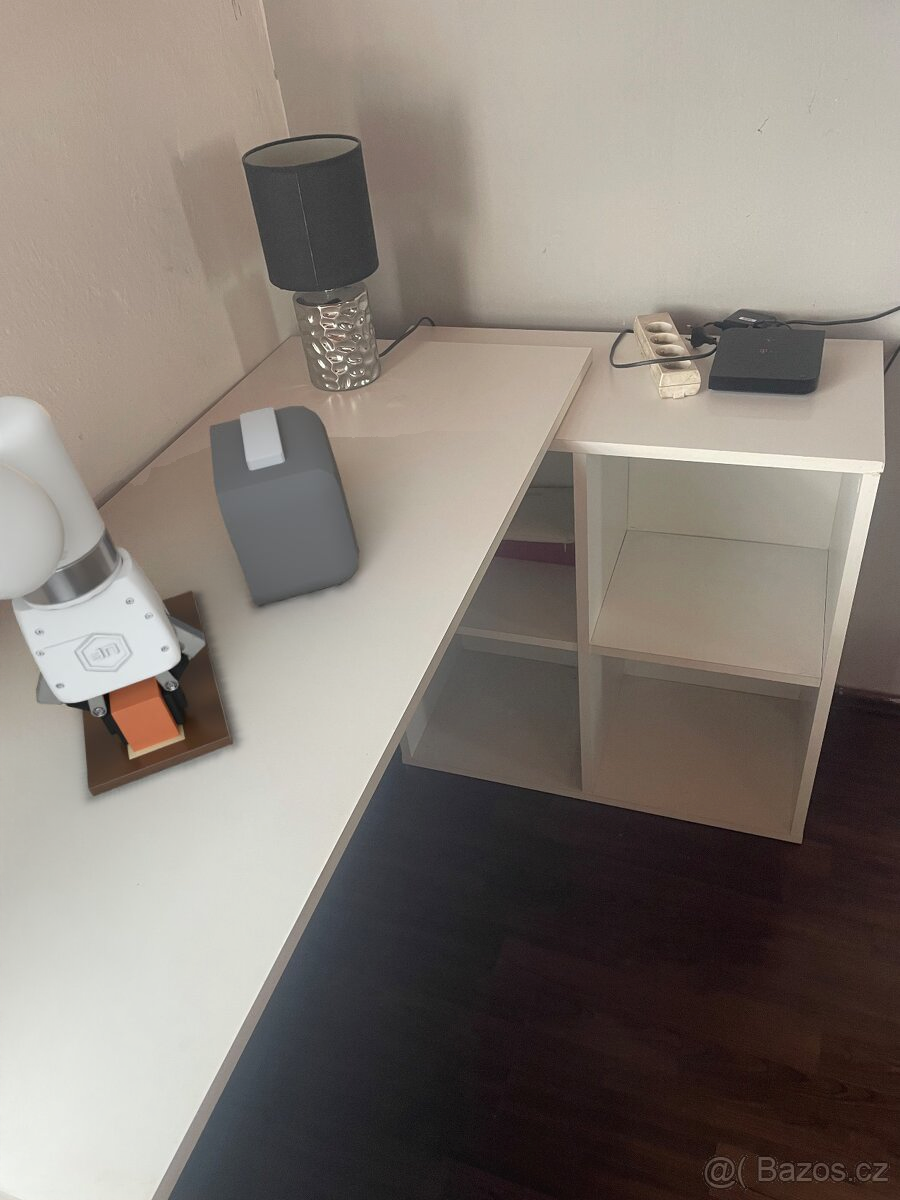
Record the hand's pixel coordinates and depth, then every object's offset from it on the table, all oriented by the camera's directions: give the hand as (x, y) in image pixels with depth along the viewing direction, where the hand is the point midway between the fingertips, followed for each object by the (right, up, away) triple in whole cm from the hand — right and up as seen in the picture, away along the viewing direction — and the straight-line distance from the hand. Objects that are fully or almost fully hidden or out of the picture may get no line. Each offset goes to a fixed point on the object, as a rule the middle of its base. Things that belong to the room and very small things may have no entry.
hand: (152, 721), depth 76 cm
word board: (-2, +3, +6) cm, 7 cm away
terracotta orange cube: (0, 0, 0) cm, 0 cm away
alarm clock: (+10, +15, +18) cm, 26 cm away
